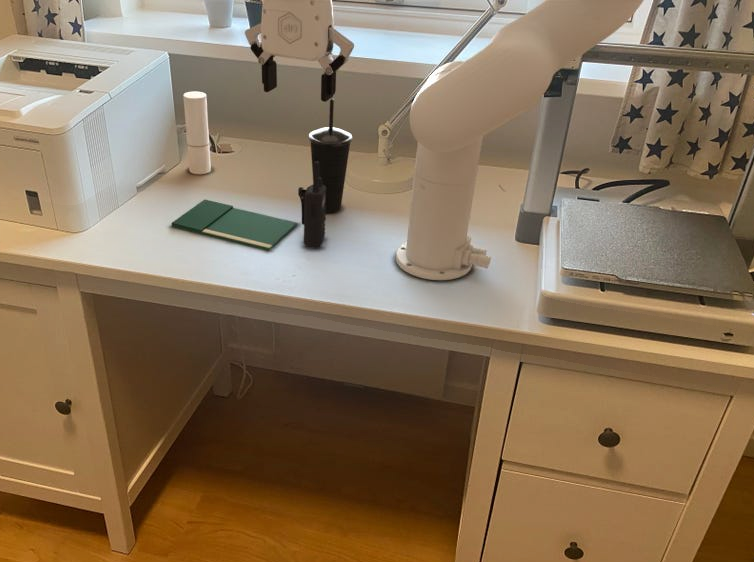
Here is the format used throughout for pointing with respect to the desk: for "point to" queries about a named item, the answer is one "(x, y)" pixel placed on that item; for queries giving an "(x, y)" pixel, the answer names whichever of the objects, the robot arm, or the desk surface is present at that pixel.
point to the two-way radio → (313, 210)
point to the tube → (197, 132)
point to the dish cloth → (234, 225)
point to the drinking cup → (331, 160)
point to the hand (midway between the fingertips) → (298, 94)
